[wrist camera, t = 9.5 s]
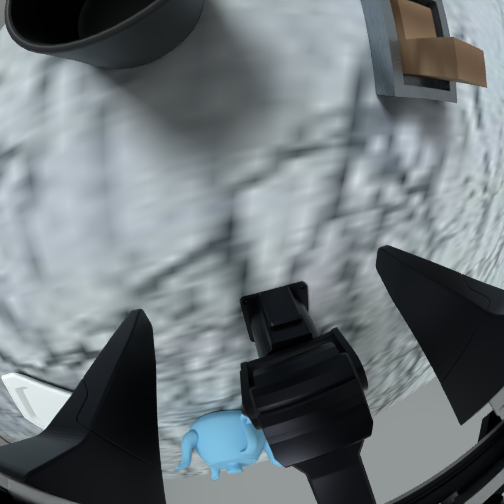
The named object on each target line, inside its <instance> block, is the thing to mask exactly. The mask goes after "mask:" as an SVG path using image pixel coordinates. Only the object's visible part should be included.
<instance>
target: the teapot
mask: <svg viewBox="0 0 504 504" xmlns="http://www.w3.org/2000/svg"><path fill="white" fill-rule="evenodd" d="M193 447H194V448H195V450H196V452H197V453H198V454H199V456H200V457H201V458H202V459H203V460H204V461H205V462H206V463H207V464H208V465H209V466H210V468H211V472H212V478H211V479H212V480H213V481H214V480H217V479H218V478H219V474H220V469H227V473H228V474H235V473H240V472H243V469H242V467H245V466H249V465H251V464H254V463H255V462H256V461H257V460H258V458H259V457H260V454H261V452H262V450H263V449H264V450H265V452H266V453H267V455H268V457H269V459H270V461H271V462H272V463H273V464H274V465H276V466H281V467H283V466H282V465H281V464H280V463H279V462H277V461H276V460H275V459H274V457H273V454H272V451H271V449H270V447H269V444H268V442H267V440H266V437H265V435H264V433H263V430H262V429H261V430H256V429H255V427H254V426H253V424H252V422H251V421H250V419H249V418H248V417H246V416H244V415H243V414H242V411H241V410H225V411H217V412H213V413H209V414H206V415H204V416H202V417H200V418H198V419H197V420H196V422H195V423H194V424H193V425H192V426H191V428H190V431H189V432H187V433H186V434H185V435H184V436H183V438H182V441H181V451H182V460H181V463H180V465H179V466H177V467H176V468H175V469H174V470H178V469H183V468H187V467H188V466H189V465H190V463H191V455H192V448H193Z"/></svg>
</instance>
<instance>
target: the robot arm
mask: <svg viewBox="0 0 504 504" xmlns="http://www.w3.org/2000/svg"><path fill="white" fill-rule="evenodd" d="M376 269H377V271H378V273H379V275H380V277H381V279H382V281H383V283H384V285H385V287H386V289H387V291H388V293H389V295H390V296H391V298H392V300H393V302H394V303H395V305H396V307H397V308H398V310H399V311H400V313H401V315H402V316H403V318H404V319H405V321H406V323H407V324H408V326H409V328H410V329H411V331H412V333H413V334H414V336H415V338H416V340H417V341H418V343H419V345H420V346H421V348H422V350H423V352H424V354H425V355H426V357H427V359H428V361H429V363H430V364H431V366H432V368H433V370H434V372H435V374H436V376H437V378H438V379H439V381H440V383H441V386H442V388H443V390H444V392H445V394H446V396H447V398H448V400H449V402H450V404H451V406H452V408H453V410H454V412H455V415H456V417H457V419H458V421H459V423H460V425H462V424H464V423H465V422H466V421H467V420H469V419H470V418H471V417H473V416H474V415H475V414H476V413H477V412H479V411H480V410H481V409H482V408H483V407H484V406H485V405H486V404H488V403H489V404H490V405H491V407H492V409H493V410H492V411H491V412H490V413H489V414H488V415H487V416H485V417H484V418H483V419H482V424H481V429H480V434H479V439H478V443H477V444H476V445H475V446H474V447H472V448H471V449H470V450H469V451H467V452H466V453H465V454H464V455H462V456H461V457H460V458H458V459H457V460H456V461H454V462H453V463H452V464H450V465H449V466H447V467H446V468H445V469H443V470H442V471H440V472H439V473H437V474H436V475H434V476H433V477H431V478H430V479H428V480H427V481H425V482H423V483H422V484H420V485H418V486H417V487H415V488H413V489H411V490H410V491H408V492H406V493H404V494H402V495H401V496H399V497H397V498H395V499H393V500H391V501H389V502H387V503H385V504H439V503H441V504H504V497H503V496H502V493H503V492H504V290H503V289H500V288H497V287H494V286H492V285H489V284H486V283H483V282H481V281H478V280H476V279H473V278H471V277H468V276H466V275H464V274H462V275H461V273H459V272H456V271H454V270H451V269H449V268H446V267H444V266H441V265H439V264H436V263H434V262H431V261H429V260H426V259H424V258H421V257H418V256H416V255H413V254H411V253H408V252H405V251H403V250H400V249H397V248H394V247H392V246H389V245H386V246H382V247H380V248H379V249H378V251H377V259H376ZM301 286H303V287H301ZM300 287H301V288H300ZM245 301H247V302H245ZM240 304H241V308H242V312H243V315H244V319H245V323H246V326H247V330H248V333H249V337H250V340H251V341H252V342H255V345H256V348H257V352H258V356H259V358H258V359H255V360H252V361H249V362H247V361H246V362H243V363H241V371H240V380H241V394H242V406H241V411H242V414H243V415H244V416H246V417H248V418H249V419H250V421H251V422H252V424H253V426H254V427H255V429H256V430H261V429H262V430H263V433H264V435H265V437H266V440H267V442H268V444H269V447H270V449H271V451H272V454H273V457H274V459H275V460H276V461H277V462H279V463H280V464H281V465H282V466H283V467H285V468H287V467H290V466H293V467H295V468H296V469H298V470H299V471H301V472H303V473H304V474H306V476H307V479H308V481H309V484H310V486H311V488H312V491H313V494H314V496H315V498H316V501H317V503H318V504H376V501H375V498H374V495H373V492H372V489H371V486H370V483H369V480H368V477H367V474H366V471H365V468H364V465H363V463H362V459H361V456H360V452H361V449H362V446H363V443H364V439H366V438H368V437H370V436H371V434H372V428H373V419H372V417H371V414H370V410H369V407H368V404H367V401H366V398H365V395H364V392H363V391H365V390H367V389H368V382H367V377H366V374H365V371H364V369H363V366H362V364H361V362H360V360H359V358H358V356H357V354H356V353H355V351H354V350H353V349H352V347H351V346H350V345H349V343H348V342H347V341H346V339H345V338H344V337H343V335H342V334H341V333H340V331H339V330H338V328H337V327H336V328H334V329H332V330H331V331H329V332H327V333H325V334H322V335H320V336H319V334H318V332H317V330H316V328H315V326H314V324H313V322H312V320H311V318H310V316H309V314H308V291H307V285H306V283H305V282H303V281H301V282H297V283H294V284H290V285H286V286H283V287H279V288H275V289H271V290H267V291H264V292H260V293H256V294H252V295H248V296H244V297H242V298H241V299H240ZM83 378H84V379H82V380H81V381H80V383H79V384H78V386H77V387H76V389H75V390H74V392H73V393H72V394H71V396H70V397H69V399H68V400H67V401H66V403H65V404H64V405H63V407H62V408H61V409H60V410H59V412H58V413H57V414H56V416H55V417H54V418H53V420H52V421H51V422H50V424H49V425H48V426H47V427H46V429H45V430H44V431H43V432H41V433H40V434H38V435H36V436H34V437H31V438H28V439H25V440H21V441H18V442H15V443H11V444H8V445H4V446H0V474H1V475H3V476H5V477H7V478H9V489H7V488H5V487H3V486H0V504H166V500H165V493H164V486H163V478H162V470H161V461H160V450H159V437H158V420H157V393H156V358H155V349H154V338H153V328H152V325H151V323H150V321H149V319H148V318H147V316H146V314H145V312H144V311H143V310H142V309H136V310H132V311H131V312H130V313H129V314H128V316H127V317H126V318H125V320H124V321H123V322H122V324H121V325H120V326H119V328H118V329H117V330H116V332H115V333H114V334H113V336H112V337H111V338H110V340H109V341H108V343H107V344H106V345H105V347H104V348H103V350H102V351H101V352H100V354H99V355H98V357H97V358H96V360H95V361H94V362H93V364H92V365H91V367H90V368H89V370H88V371H87V373H86V374H85V375H84V377H83Z"/></svg>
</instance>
